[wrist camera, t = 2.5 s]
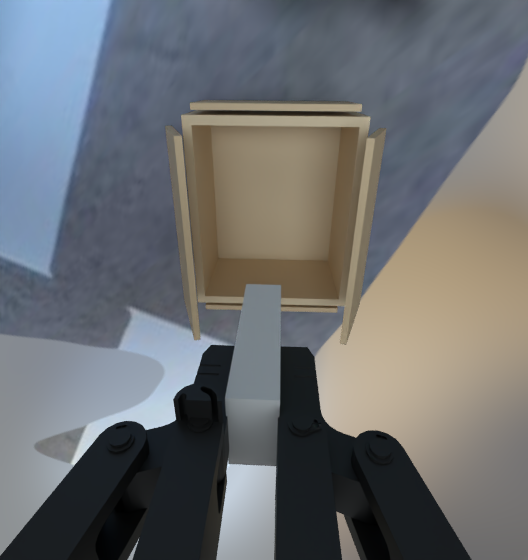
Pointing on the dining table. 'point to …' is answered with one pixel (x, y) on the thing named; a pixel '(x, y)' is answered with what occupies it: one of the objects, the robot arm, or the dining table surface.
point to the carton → (274, 198)
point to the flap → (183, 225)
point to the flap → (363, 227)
